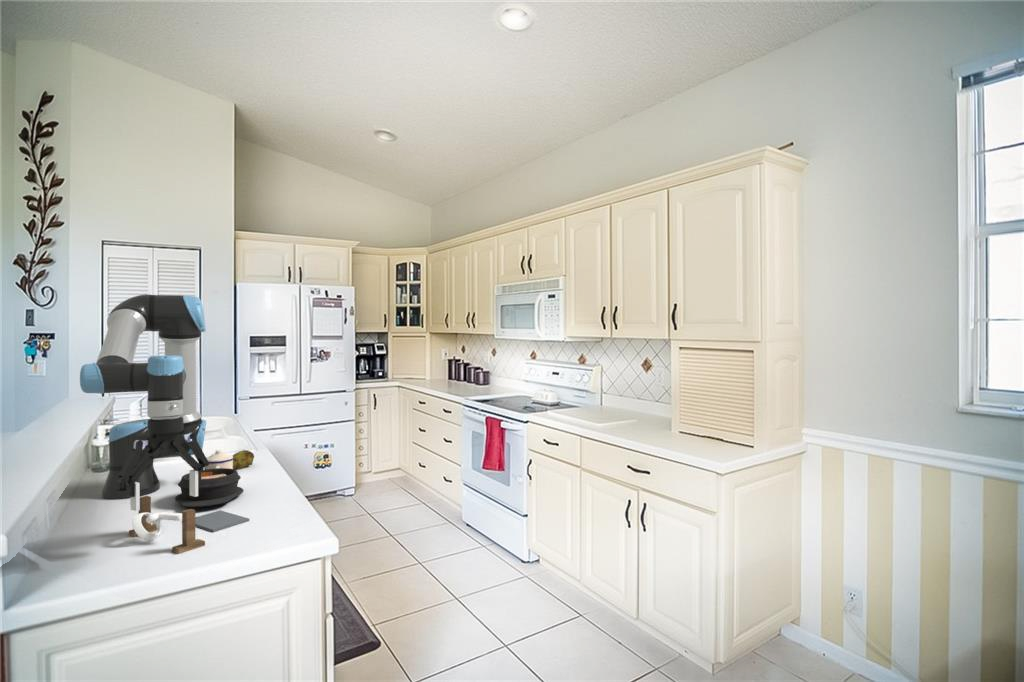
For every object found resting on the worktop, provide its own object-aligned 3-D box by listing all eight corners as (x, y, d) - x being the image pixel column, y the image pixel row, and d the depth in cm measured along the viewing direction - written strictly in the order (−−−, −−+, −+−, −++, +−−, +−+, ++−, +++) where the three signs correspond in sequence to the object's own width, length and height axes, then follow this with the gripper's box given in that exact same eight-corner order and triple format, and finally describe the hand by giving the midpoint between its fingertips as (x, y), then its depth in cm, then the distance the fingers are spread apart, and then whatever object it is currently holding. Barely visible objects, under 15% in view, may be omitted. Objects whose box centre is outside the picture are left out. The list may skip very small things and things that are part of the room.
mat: (184, 522, 144) (184, 520, 144) (220, 512, 153) (220, 510, 153) (213, 532, 137) (213, 529, 137) (249, 520, 146) (249, 518, 146)
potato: (216, 472, 199) (215, 451, 199) (254, 468, 205) (254, 447, 205) (214, 477, 192) (214, 455, 192) (254, 473, 198) (254, 452, 198)
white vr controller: (166, 548, 126) (166, 519, 126) (124, 544, 129) (124, 516, 129) (191, 537, 134) (191, 509, 134) (151, 533, 136) (151, 506, 136)
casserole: (181, 493, 172) (181, 467, 172) (245, 486, 180) (245, 462, 180) (167, 517, 149) (167, 487, 149) (241, 508, 157) (241, 480, 157)
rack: (128, 534, 136) (128, 499, 136) (154, 527, 141) (154, 493, 141) (179, 553, 123) (178, 515, 123) (205, 545, 129) (204, 508, 129)
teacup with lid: (205, 482, 185) (204, 449, 185) (234, 479, 189) (234, 446, 189) (201, 491, 174) (201, 455, 174) (232, 488, 178) (232, 453, 178)
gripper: (114, 424, 119) (114, 519, 119) (223, 412, 141) (223, 492, 141) (99, 422, 123) (99, 513, 123) (207, 410, 145) (207, 488, 144)
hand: (165, 502), depth 132 cm, fingers open, 13 cm apart
